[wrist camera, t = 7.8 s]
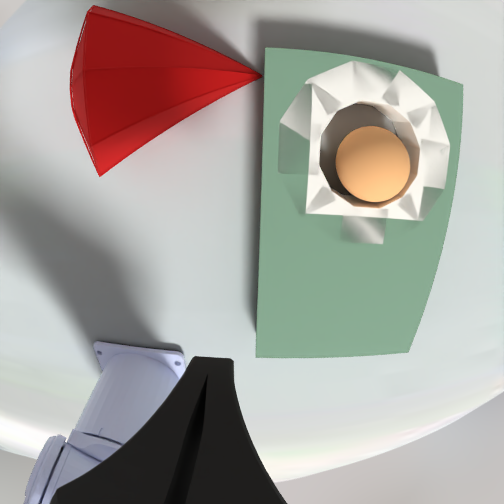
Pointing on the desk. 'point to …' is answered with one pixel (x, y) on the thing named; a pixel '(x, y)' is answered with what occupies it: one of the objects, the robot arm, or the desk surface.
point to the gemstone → (141, 83)
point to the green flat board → (349, 208)
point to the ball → (372, 164)
